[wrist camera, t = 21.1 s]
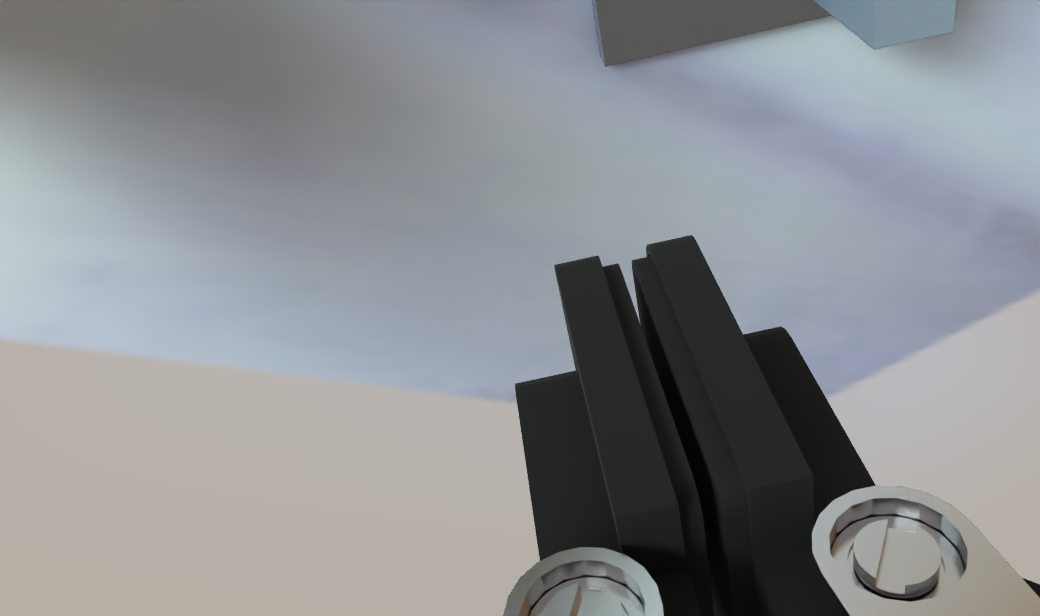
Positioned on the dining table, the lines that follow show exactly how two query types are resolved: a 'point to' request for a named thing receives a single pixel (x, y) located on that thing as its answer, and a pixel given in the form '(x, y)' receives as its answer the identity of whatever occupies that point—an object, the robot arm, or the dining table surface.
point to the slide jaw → (893, 19)
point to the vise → (687, 23)
